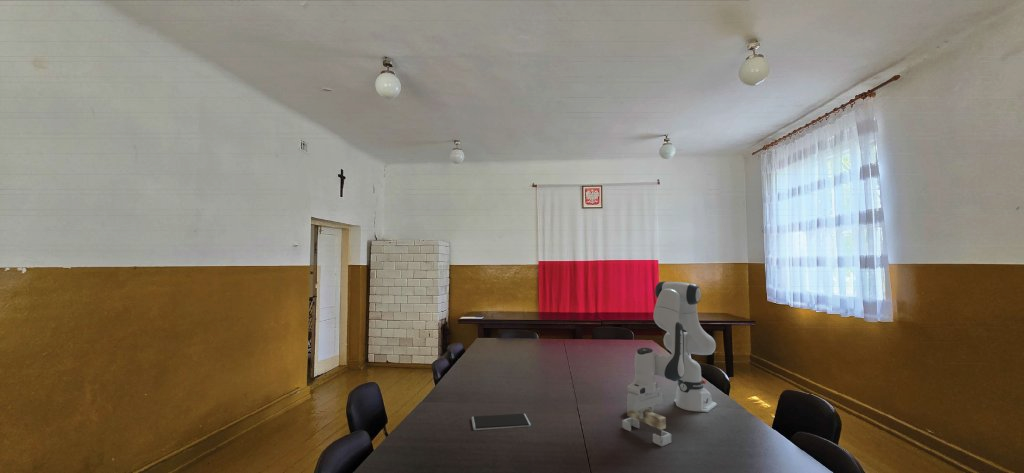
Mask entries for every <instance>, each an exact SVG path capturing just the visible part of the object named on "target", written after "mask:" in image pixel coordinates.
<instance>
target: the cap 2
mask: <svg viewBox="0 0 1024 473" xmlns="http://www.w3.org/2000/svg"><path fill="white" fill-rule="evenodd" d="M660 431H661V435H659V434H656V433H652V442H653V443H654V444H656V445H658V446H660V447H664V446H667V445H669V444H671V443H672V433H670V432H667V431H665V430H664V429H662V430H660Z"/></svg>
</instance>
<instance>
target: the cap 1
mask: <svg viewBox="0 0 1024 473" xmlns="http://www.w3.org/2000/svg"><path fill="white" fill-rule="evenodd" d="M621 423H622V429H623V430H626V431H629V432H632V427H634V428H637V429H640V421H639V420H636V419H634V418H632V417H628V418H625V419H622V420H621Z"/></svg>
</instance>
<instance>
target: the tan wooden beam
mask: <svg viewBox="0 0 1024 473" xmlns="http://www.w3.org/2000/svg"><path fill="white" fill-rule="evenodd" d="M626 408H627V409H626V413H627V414H626V416H627V417H628V418H630V417H632V418H634V419H636V420H639V422H641V423H643V424H646V425H648V426H650V427H653V428H655V429H657V430H659V431H662V430H665V429H667V422H666V421H667V420H666V416H663V415H660V414H658V413H655V412H654V411H652V412H651V411H648V409H647V408H646V409H643V414H644V415H645V418H644V419H640V418H639V413H638V411H636V412H633V411H631V410H629V409H628V407H627V406H626Z"/></svg>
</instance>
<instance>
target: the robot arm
mask: <svg viewBox="0 0 1024 473" xmlns="http://www.w3.org/2000/svg"><path fill="white" fill-rule="evenodd" d="M654 295H655V297H656V299H657V300H656V302H655V305H654V310H653V321H654V322H655V324H656V325H657V326H658V327H659V328H660V329H662V330H664V331H665V332H666V333H665V334H664V336H663V340H662V341H663V345H664V347H665V348H666V350H668V351H669V352H670V353H671V354H670V356H669V355H664V354H660V353H657V352H654V350H653V349H652V348H649V347H640V348H638V349H637V350H635V351H636V352H635V354H634V355H635V356H634V371H635V375H634V380H633V381H632V382H631V383H630V384H628V385H627V386H626V390H627V391H628V393H627V396H626V404H627V405H626V408H627V407H628V409H629V410H631V411H633V412H636V411H638V413H639V418H640V419H644V418H645V415H644V414H643V409H646V410H648V411H651V412H654V408H655V406H658V405H661V404H662V403H663V392H662V388H661V385H660V384H659V382H656V377H655V376H657V377H659V378H660V377H661V378H664V379H667V380H669V381H672V382H677V387H676V390H675V391H676V392H675V398H674V403H675V405H676V406H677V407H678V408H680V409H682V410H685V411H689V412H702V413H708V412H710V411H711V410H713V409H714V408H716V407H717V406H718V404H717V402H715V401H713V399H712V394H711V393H710V392H709V390H708V389H706V388H705V386H704V385H706V383H707V381H706V380H705V379H702V367H701V365H700V364H699V363H698V361H696V360H695V359H692V357H690V355H689V354H692V355H700V356H709V355H713V353H714V352H715V350H716V348H717V343H716V340H715V339H714V337H713V336H711V335H710V334H709V333H707V332H706V331H705V330H704V329H703V327H702V326H701V323H700V321H699V320H700V319H699V315H698V308H697V307H698V306H697V304H698V303H699V302H700V301H701V297H702V291H701V288H700V287H699V286H698V285H697V284H695V283H692V282H691V283H688V282H684V281H683V282H682V281H665V280H664V281H659V282H658V283H657V284H656V286H655V289H654Z"/></svg>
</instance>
